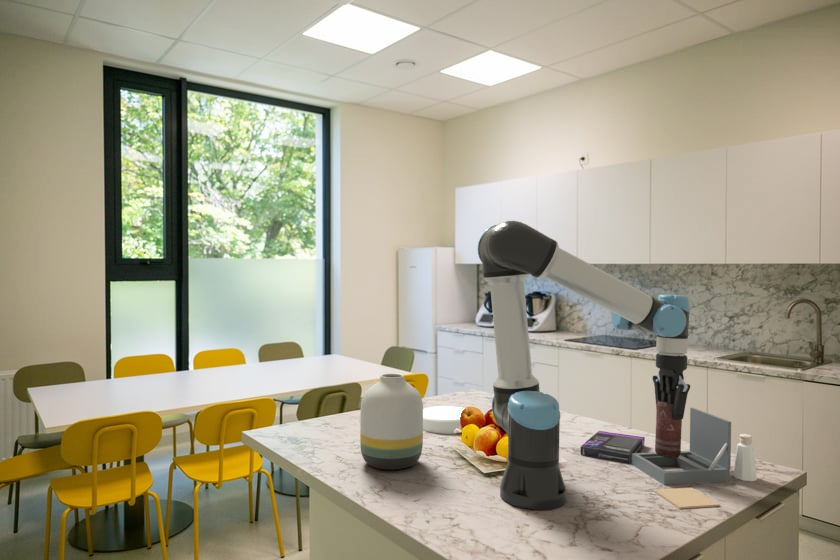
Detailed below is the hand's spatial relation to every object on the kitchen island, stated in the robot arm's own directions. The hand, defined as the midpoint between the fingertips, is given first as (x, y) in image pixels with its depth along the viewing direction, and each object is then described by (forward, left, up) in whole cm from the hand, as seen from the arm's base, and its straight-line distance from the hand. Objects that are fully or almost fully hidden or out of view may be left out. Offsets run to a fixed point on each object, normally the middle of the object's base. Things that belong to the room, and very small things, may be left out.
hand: (668, 443), depth 147 cm
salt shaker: (+18, -6, -8) cm, 20 cm away
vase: (-71, +17, -8) cm, 73 cm away
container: (-48, +53, -8) cm, 72 cm away
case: (+3, 0, -8) cm, 8 cm away
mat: (-6, -16, -8) cm, 19 cm away
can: (0, 0, -3) cm, 3 cm away
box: (-5, +20, -9) cm, 22 cm away
